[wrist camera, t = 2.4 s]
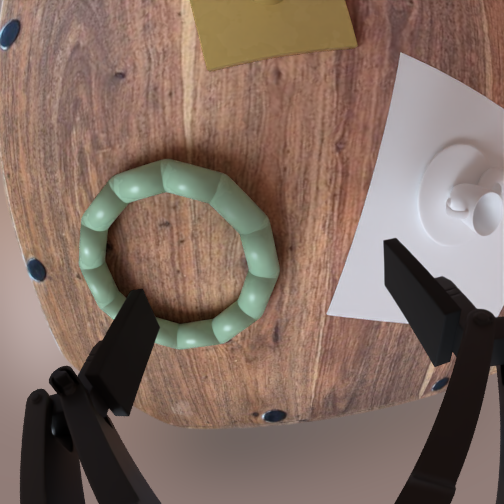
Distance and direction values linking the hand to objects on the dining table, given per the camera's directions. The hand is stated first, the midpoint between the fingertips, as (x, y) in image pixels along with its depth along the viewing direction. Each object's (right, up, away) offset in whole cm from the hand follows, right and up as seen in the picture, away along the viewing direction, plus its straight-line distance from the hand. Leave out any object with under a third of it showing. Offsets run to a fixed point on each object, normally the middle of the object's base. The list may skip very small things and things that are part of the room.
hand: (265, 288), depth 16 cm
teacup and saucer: (+17, +4, +4) cm, 18 cm away
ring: (-6, +1, +5) cm, 8 cm away
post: (0, +17, -2) cm, 18 cm away
